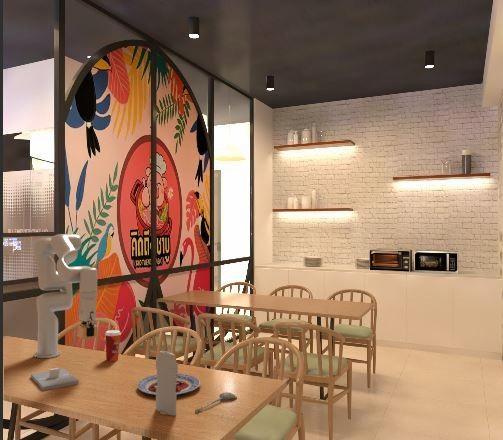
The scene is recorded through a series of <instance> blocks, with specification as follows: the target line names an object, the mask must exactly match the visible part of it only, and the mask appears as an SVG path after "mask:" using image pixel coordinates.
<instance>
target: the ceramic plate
mask: <svg viewBox="0 0 503 440" xmlns="http://www.w3.org/2000/svg"><path fill="white" fill-rule="evenodd" d="M136 386H137V387H136V388H138V390H140V391H141V392H143V393H145V394H148V395H149V394H150V395H153V396H154V395H155V396H156V389H157V374H154V375H150V376H147V377H145V378H143V379H141V380H140V381H138V383H137V385H136ZM199 386H201V381H200V379H199V378H197V376H196V377H195V376H193V375H190V374H187V373H185V374H184V373H177V375H176V395H182V394H188V393H189V392H192V391H194V390H196V389H198V388H199Z"/></svg>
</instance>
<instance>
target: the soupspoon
mask: <svg viewBox="0 0 503 440" xmlns="http://www.w3.org/2000/svg"><path fill="white" fill-rule="evenodd" d="M218 396H219V398H217V399H215V400H213V401H211V402H209V403H207V404H205V405H204V406H201V407H200V408H196V409H194V412H195V413H196V414H199V413H200V412H201V411H202V410H203V409H204V408H207V407H209V406H211V405H212V404H215V403H217V402H219V401H222V400H228V399H237V398H238V396H236V394H233V393H232V392H229V391H228V392H225V391H224V392H221V393H220V394H219V395H218Z"/></svg>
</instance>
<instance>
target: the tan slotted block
mask: <svg viewBox="0 0 503 440" xmlns="http://www.w3.org/2000/svg"><path fill="white" fill-rule="evenodd" d="M94 326H95V327H94V336H90V337H87V328H88V327H87V324H83V325H81V324H78V325H77V338H80V339H81V340H82V341H83V340H90V339H95V338H96V339H97V338H98V325H97V324H94Z"/></svg>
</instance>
